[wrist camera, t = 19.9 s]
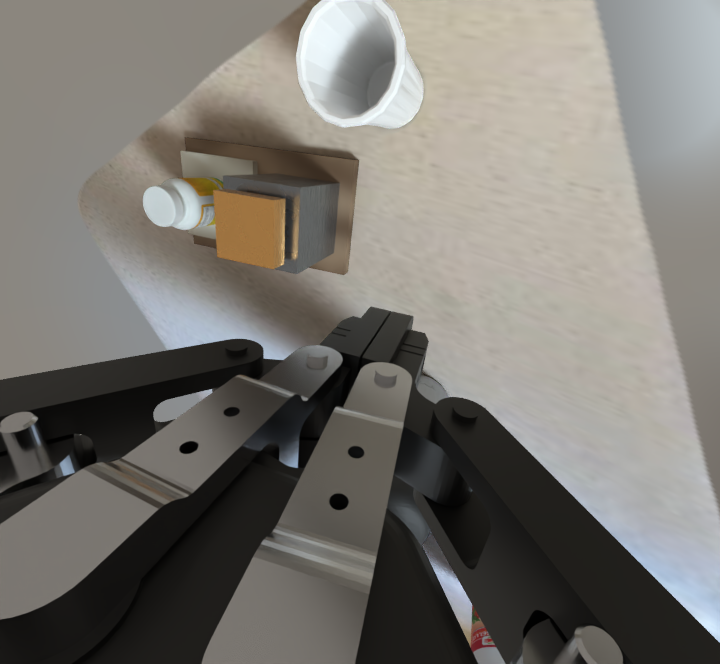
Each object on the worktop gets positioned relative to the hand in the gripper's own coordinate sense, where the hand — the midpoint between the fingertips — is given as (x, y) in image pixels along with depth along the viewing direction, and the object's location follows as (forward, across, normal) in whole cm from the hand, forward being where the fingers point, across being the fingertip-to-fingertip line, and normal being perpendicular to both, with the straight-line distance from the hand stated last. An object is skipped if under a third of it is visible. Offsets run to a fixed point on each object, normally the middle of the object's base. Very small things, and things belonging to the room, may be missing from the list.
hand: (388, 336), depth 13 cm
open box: (+31, +18, +2) cm, 35 cm away
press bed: (+32, +23, +2) cm, 39 cm away
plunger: (+30, +17, +2) cm, 35 cm away
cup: (+32, +9, -11) cm, 35 cm away
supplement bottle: (+30, +29, +2) cm, 41 cm away
